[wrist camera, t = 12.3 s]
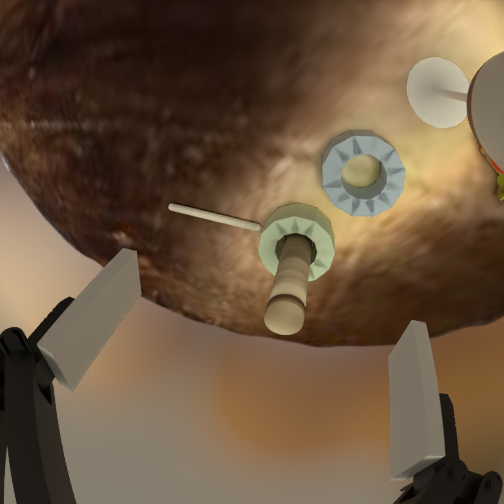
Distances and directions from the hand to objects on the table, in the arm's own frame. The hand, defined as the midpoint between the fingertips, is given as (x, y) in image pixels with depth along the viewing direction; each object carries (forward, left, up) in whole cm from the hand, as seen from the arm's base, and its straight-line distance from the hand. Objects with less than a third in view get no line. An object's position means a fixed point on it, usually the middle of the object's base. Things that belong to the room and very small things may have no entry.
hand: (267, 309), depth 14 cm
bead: (+10, +2, -26) cm, 28 cm away
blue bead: (-1, +7, -26) cm, 27 cm away
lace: (+10, -10, -26) cm, 30 cm away
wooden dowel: (+10, +2, -26) cm, 28 cm away
